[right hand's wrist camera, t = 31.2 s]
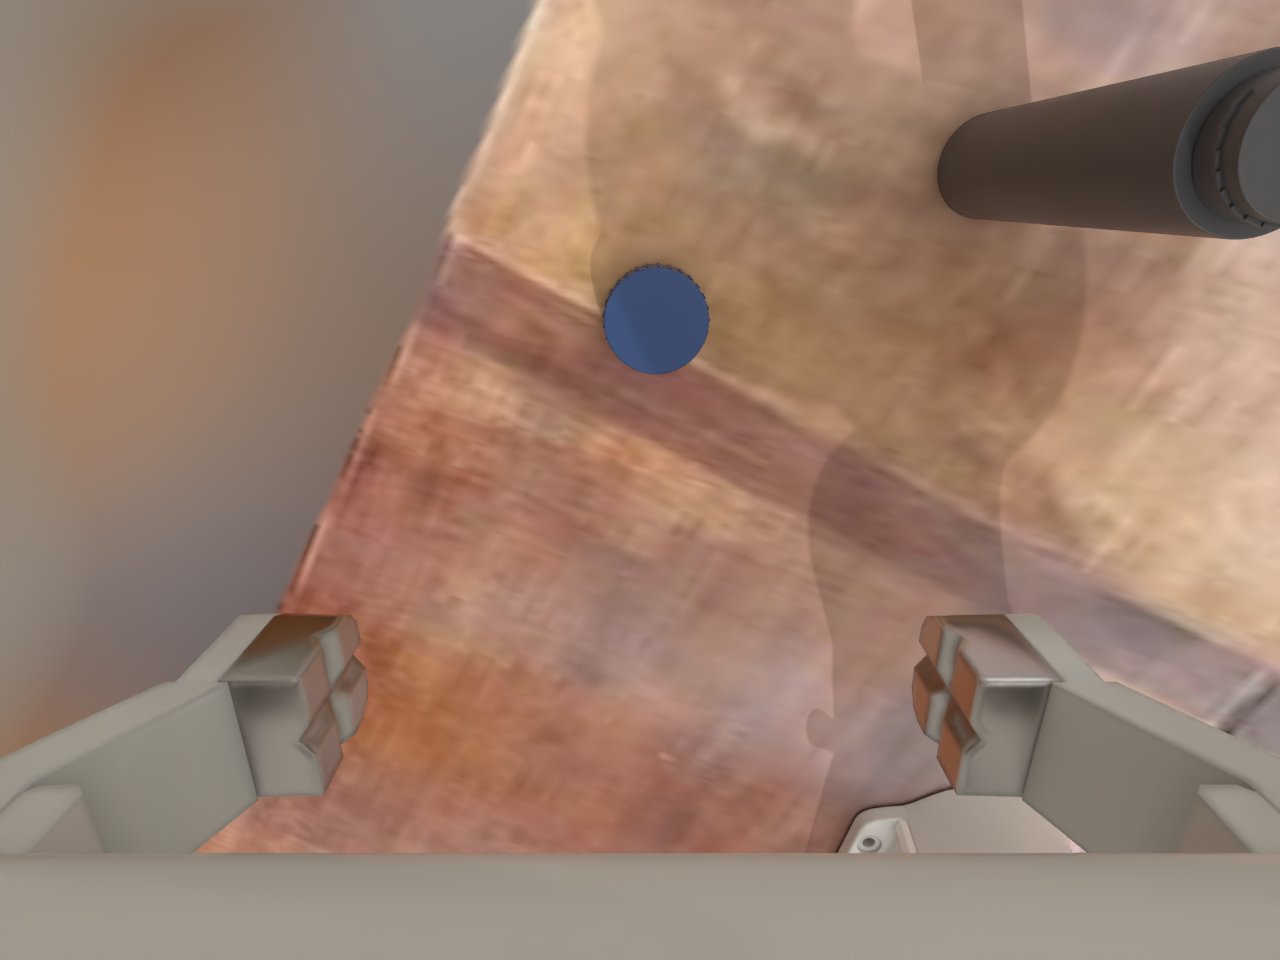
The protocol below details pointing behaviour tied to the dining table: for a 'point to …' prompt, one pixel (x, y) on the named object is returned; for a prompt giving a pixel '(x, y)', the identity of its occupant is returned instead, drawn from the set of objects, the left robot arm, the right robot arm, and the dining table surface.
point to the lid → (656, 319)
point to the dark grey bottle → (1132, 155)
